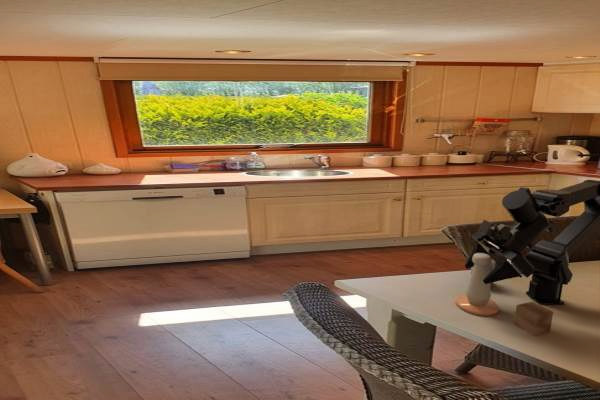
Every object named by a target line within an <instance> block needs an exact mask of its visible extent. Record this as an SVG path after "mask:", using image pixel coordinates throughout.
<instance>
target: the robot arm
mask: <svg viewBox="0 0 600 400" xmlns="http://www.w3.org/2000/svg"><path fill="white" fill-rule="evenodd" d="M582 203H583V204H584V205H583V206H584V207H583V208H584V211H582V213H581V214H580V215H579V216H578V217H577V218H576V219H574V220H573V221H572V222H571V223H570V224H569V225H568V226H567V227H566V228H564V229H563V231H561V233H560V234H558V235H557V236H556V237H555V238H554V239H553V240H552V241H548V240H544V239H541V240H539V241H538V242H536V244H535V245H533V244H532V243H533V242H534V241H536V239H537V238H538V237H540V236H541V235H542V234H543V233H544V232H545V231H546V232H548V233H550V234H553V232H554V224H555V223H554V221H553V220H550V219H548V218H547V217H546V216H551V217H554V218H560V217H562V216H563V215H565V214H567V213H569V212H570V207H573V206H575V205H578V204H582ZM501 205H502V206H503V208H504V209H505V210H506V212H507V213H508V214H509V216H510V217H511V219H512V220H513V221H514V222H515V223H513V224H512V225H508V224H506V225H505V224H504V223H500V224H499V225H497V224H495V223H493V222H490V221H488V220H486V219H483V220H482V222H481V224H480V226H479V228H478V229H477V231H476V232H475V233H474V234H473V235H471V237H472V242H473V249H472V251H471V253H470V254H469V255H470V256H469V257H468V259H467V260H466V262H465V264H464V267H465V268H466V269H467V270H469V269H470V268H471V267H473V266H474V264H475V263H473V261H472V258H473V255H474V254H475V253H484V254H487V255H489V256H490V257H491V258H493V256H492V255H495V254H497V255H499V259H498V264H496V265H495V268H494V269H493V270H492V271H491V272H490V273H489V274H488V275H487V276H486V277H485V278H484V280H483V282H484V283H485V284H489V283H493V284H494V283H496V282H500V281H503V280H508V279H509V280H510V279H514V278H523V276H524V277H525V278H530V277H531V280H530V281H529V284H528V290H526V291H525V294H526V295H527V296H529V297H530V298H532V299H533V301H534V302H536V303H537V304H539V305H565V303H566V302H565V301H564V300H562V299H561V298H562V293H563V292H562V291H563V287H564V286H567V285H569V283H571V280H572V278H573V273H572V271H571V269H570V268H569V265H570V262H569V261H570V260H569V258H570V257H569V256H570V255H571V254H573V252H574V251H576V250H577V249H578V247H580V246H581V245H582V244H583V243H584V242H585V241H586V240H587V239H588V238H589V237H590V236H591V235H592V234H594V232H596V231H597V229H598V228H600V180H595V179H587V180H584V181H582V182H579V183H576V184H574V185H569V186H566V187H563V188H559V189H537V190H535V191H533V192H532V190H531V189H530V188H529V187H523V186H520V187H519V188H518V189H517V190H514V191H511V192H509V193H507V194H506V195H504V196H503V198H502V200H501ZM526 248H527V249H528V250H529V249H530V250H529V251H528V253H526V255H524V254H523V253H521V252H522V251H523V250H525V249H526Z"/></svg>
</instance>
